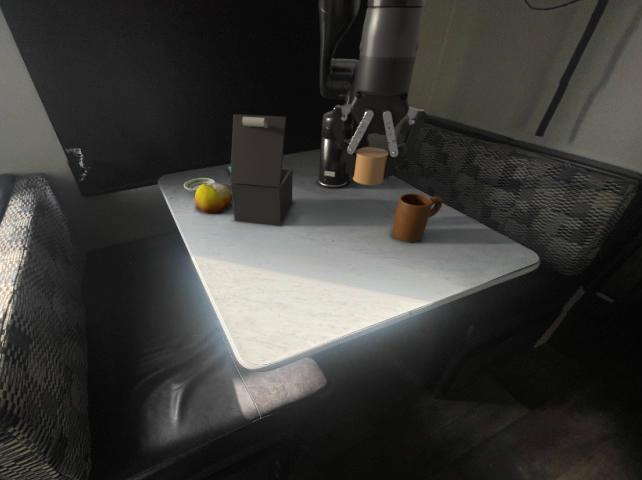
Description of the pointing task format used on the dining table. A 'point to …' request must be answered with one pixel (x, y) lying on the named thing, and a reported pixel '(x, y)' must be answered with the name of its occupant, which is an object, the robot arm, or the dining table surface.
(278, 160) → the lid
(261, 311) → the dining table surface
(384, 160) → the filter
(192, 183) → the saucer
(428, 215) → the mug
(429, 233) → the dining table surface
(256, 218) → the dark gray cube box
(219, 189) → the fruit
